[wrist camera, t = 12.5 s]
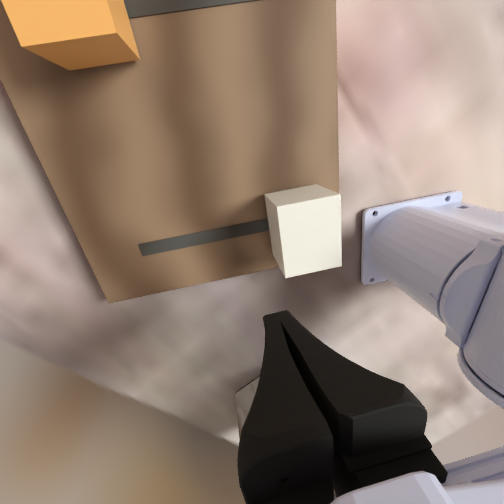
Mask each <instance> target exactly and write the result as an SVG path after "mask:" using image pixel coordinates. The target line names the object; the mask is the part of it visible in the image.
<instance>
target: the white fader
mask: <svg viewBox="0 0 504 504" xmlns="http://www.w3.org/2000/svg"><path fill="white" fill-rule="evenodd" d="M264 195H265V202H266V209H267V217H268V224H269V231H270V238H271V245H272V252H273V256H274V258H275V259H276V261H277V263H278V265H279V267H280V269H281V271H282V272H283V274H284V276H285V278H289V277H294V276H298V275H303V274H307V273H312V272H317V271H321V270H326V269H330V268H335V267H340V266H342V245H341V194H339V193H337V192H334V191H332V190H329V189H327V188H324V187H322V186H320V185H317V184H314V185H309V186H304V187H299V188H294V189H289V190H283V191H278V192H273V193H268V194H264Z"/></svg>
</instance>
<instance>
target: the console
mask: <svg viewBox="0 0 504 504" xmlns="http://www.w3.org/2000/svg"><path fill="white" fill-rule="evenodd" d="M124 4H125V7H126V11H127V14H128V18H129V21H130V25H131V28H132V32H133V36H134V39H135V43H136V46H137V50H138V53H139V57H140V60H136V61H129V62H123V63H116V64H110V65H103V66H97V67H90V68H83V69H77V70H70V71H69V70H67V69H65V68H63V67H61V66H59V65H57V64H55V63H53V62H51V61H49V60H47V59H45V58H43V57H41V56H39V55H37V54H35V53H33V52H31V51H29V50H27V49H25V48H23V47H21V45H20V42H19V40H18V38H17V36H16V33H15V31H14V29H13V26H12V24H11V22H10V20H9V17H8V15H7V13H6V10H5V8H4V6H3V3H2V1H1V0H0V80H1V82H2V84H3V86H4V88H5V90H6V92H7V94H8V96H9V98H10V101H11V103H12V105H13V107H14V109H15V111H16V113H17V115H18V117H19V119H20V121H21V123H22V125H23V127H24V129H25V132H26V134H27V136H28V138H29V140H30V142H31V144H32V146H33V148H34V150H35V152H36V154H37V156H38V158H39V160H40V162H41V165H42V167H43V169H44V171H45V173H46V175H47V177H48V179H49V181H50V183H51V185H52V187H53V189H54V191H55V193H56V196H57V198H58V200H59V202H60V204H61V206H62V208H63V210H64V212H65V214H66V216H67V218H68V220H69V222H70V224H71V227H72V229H73V231H74V233H75V235H76V237H77V239H78V241H79V243H80V245H81V247H82V249H83V251H84V253H85V255H86V257H87V260H88V262H89V264H90V266H91V268H92V270H93V272H94V274H95V276H96V278H97V280H98V282H99V284H100V286H101V288H102V291H103V293H104V295H105V297H106V299H107V301H108V303H113V302H118V301H122V300H127V299H132V298H137V297H141V296H146V295H151V294H155V293H160V292H165V291H169V290H174V289H179V288H183V287H188V286H193V285H197V284H202V283H207V282H211V281H216V280H221V279H225V278H230V277H235V276H239V275H244V274H249V273H254V272H258V271H263V270H268V269H272V268H277V267H279V265H278V263H277V261H276V259H275V258H274V256H273V252H272V245H271V238H270V231H269V224H268V217H267V209H266V202H265V195H264V194H268V193H273V192H278V191H283V190H289V189H294V188H299V187H304V186H309V185H314V184H317V185H320V186H322V187H324V188H327V189H329V190H332V191H334V192H337V193H339V156H338V97H337V38H336V0H124Z"/></svg>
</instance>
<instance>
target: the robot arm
mask: <svg viewBox="0 0 504 504" xmlns="http://www.w3.org/2000/svg"><path fill="white" fill-rule="evenodd" d="M446 197H447V198H446ZM445 198H446V200H445ZM461 201H462V192H461V191H451V192H446V193H441V194H436V195H431V196H427V197H422V198H417V199H412V200H407V201H402V202H397V203H392V204H387V205H382V206H377V207H372V208H368V209H366V210H364V212H363V217H362V262H361V282H362V283H363V284H364V285H370V284H374V283H379V282H383V281H388V280H389V281H390V282H392V283H393V284H394V285H395V286H397V287H398V288H399V289H401V290H402V291H403V292H404V293H406V294H407V295H408V296H409V297H411V298H412V299H413V300H415V301H416V302H417V303H418V304H420V305H421V306H422V307H423V308H425V309H426V310H427V311H429V312H430V313H431V314H432V315H434V316H435V317H436V318H437V319H439V320H440V321H441V322H443V323H444V324H445V325H446V334H445V336H446V337H447V338H448V339H450V340H451V341H452V342H453V343H454V344H456V345H457V346H458V347H459V348H460V349H459V351H458V354H457V356H458V363H459V366H460V368H461V370H462V372H463V373H464V375H465V376H466V377H467V379H468V380H469V381H470V382H471V383H472V384H473V385H474V386H475V387H476V388H477V389H478V390H479V391H480V392H481V393H482V394H483V395H485V396H486V397H487V398H489V399H490V400H491V401H493V402H494V403H495V404H497V405H498V406H500V407H501V408H503V409H504V212H500V211H496V210H492V209H488V208H484V207H480V206H476V205H472V204H467V203H463V202H461ZM374 211H375V214H374V215H372V214H373V212H374ZM371 278H372V280H370V279H371ZM263 321H264V326H265V349H264V357H263V364H262V369H261V374H260V378H259V382H258V386H257V389H256V393H255V396H254V399H253V402H252V405H251V408H250V410H249V413H248V415H247V417H246V420H245V422H244V425H243V427H242V430H241V436H240V442H239V449H238V476H239V483H240V488H241V491H242V493H243V496H244V499H245V502H246V504H504V446H503V447H500V448H497V449H494V450H491V451H487V452H484V453H481V454H478V455H475V456H471V457H468V458H465V459H462V460H459V461H456V462H453V463H449V464H446V465H442V464H441V462H440V461H439V460H438V459H437V457H436V456H435V455H434V453H433V452H432V450H431V448H432V445H431V443H430V442H429V440H428V439H427V438H426V436H425V435H424V432H425V427H426V422H427V411H426V409H425V407H424V406H423V405H422V404H421V402H420V401H419V400H418V399H417V398H416V397H415V396H414V394H413V393H412V392H411V391H410V390H409V389H408V388H407V387H406V386H405V385H404V384H401V383H399V382H396V381H393V380H391V379H388V378H385V377H383V376H380V375H378V374H376V373H374V372H371V371H369V370H367V369H365V368H363V367H361V366H359V365H357V364H356V363H354V362H352V361H350V360H348V359H346V358H345V357H343V356H342V355H340V354H338V353H337V352H335V351H334V350H332V349H331V348H329V347H328V346H327V345H325V344H324V343H323V342H321V341H320V340H319V339H317V338H316V337H315V336H314V335H313V334H311V333H310V332H309V331H308V330H307V329H306V328H305V327H304V326H302V325H301V324H300V323H299V322H298V321H297V320H296V319H295V318H294V317H293V316H292V315H291V313H290V312H289V311H287V310H285V311H281V312H277V313H273V314H269V315H265V316H264V317H263ZM334 490H335V494H336V497H337V498H336V499H334Z"/></svg>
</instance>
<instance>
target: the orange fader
mask: <svg viewBox="0 0 504 504" xmlns="http://www.w3.org/2000/svg"><path fill="white" fill-rule="evenodd" d="M1 1H2V3H3V6H4V8H5V10H6V13H7V15H8V17H9V20H10V22H11V24H12V26H13V29H14V31H15V33H16V36H17V38H18V40H19V42H20V45H21V47H23V48H25V49H27V50H29V51H31V52H33V53H35V54H37V55H39V56H41V57H43V58H45V59H47V60H49V61H51V62H53V63H55V64H57V65H59V66H61V67H63V68H65V69H67V70H69V71H70V70H77V69H83V68H90V67H97V66H103V65H110V64H116V63H123V62H129V61H136V60H140V57H139V53H138V50H137V46H136V43H135V39H134V36H133V32H132V28H131V25H130V21H129V18H128V14H127V11H126V7H125V4H124V0H1Z"/></svg>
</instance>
